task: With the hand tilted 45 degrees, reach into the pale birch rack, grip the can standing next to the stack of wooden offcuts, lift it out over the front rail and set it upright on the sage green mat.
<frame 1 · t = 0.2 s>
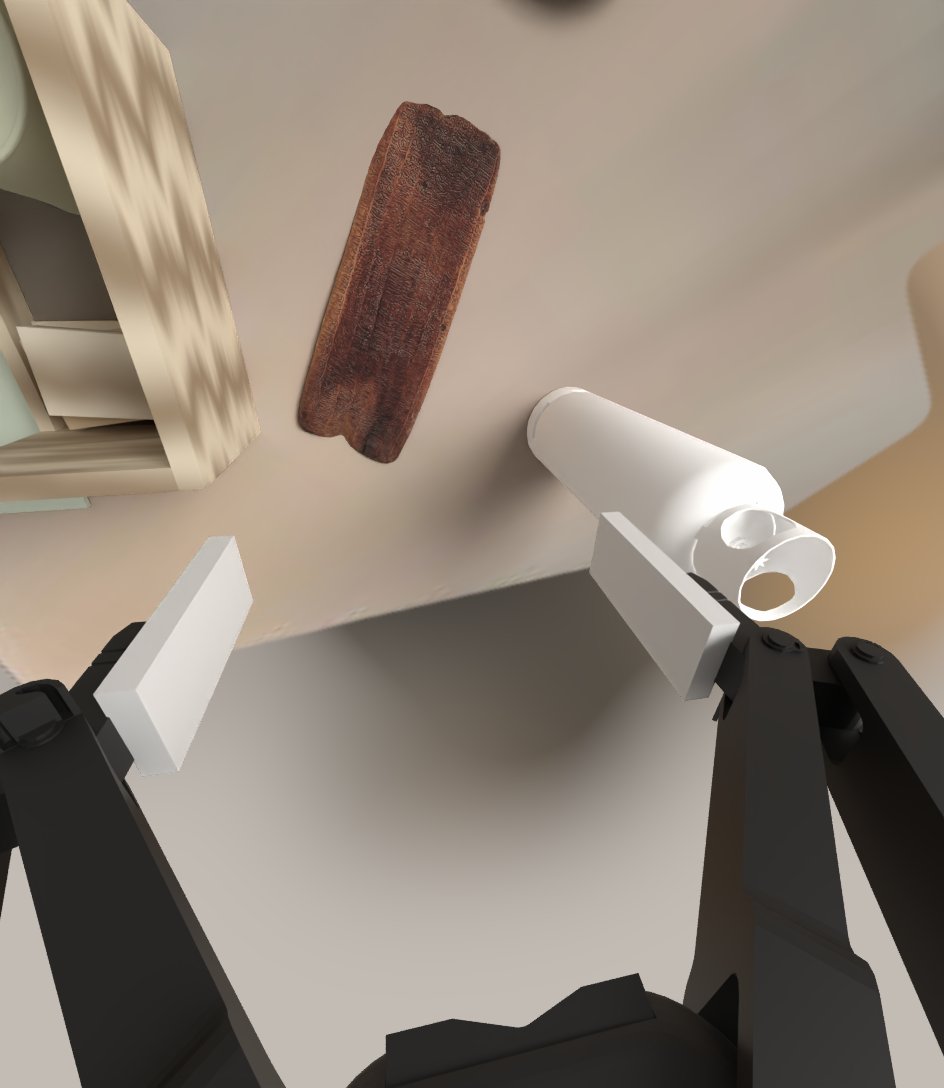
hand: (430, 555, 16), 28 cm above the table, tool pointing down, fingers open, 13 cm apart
can: (66, 130, 28), on the table
offcut stack: (140, 368, 35), resting in rack
wooden tablet: (396, 305, 37), on the table
bottle: (564, 427, 44), on the table
rack: (114, 274, 32), on the table
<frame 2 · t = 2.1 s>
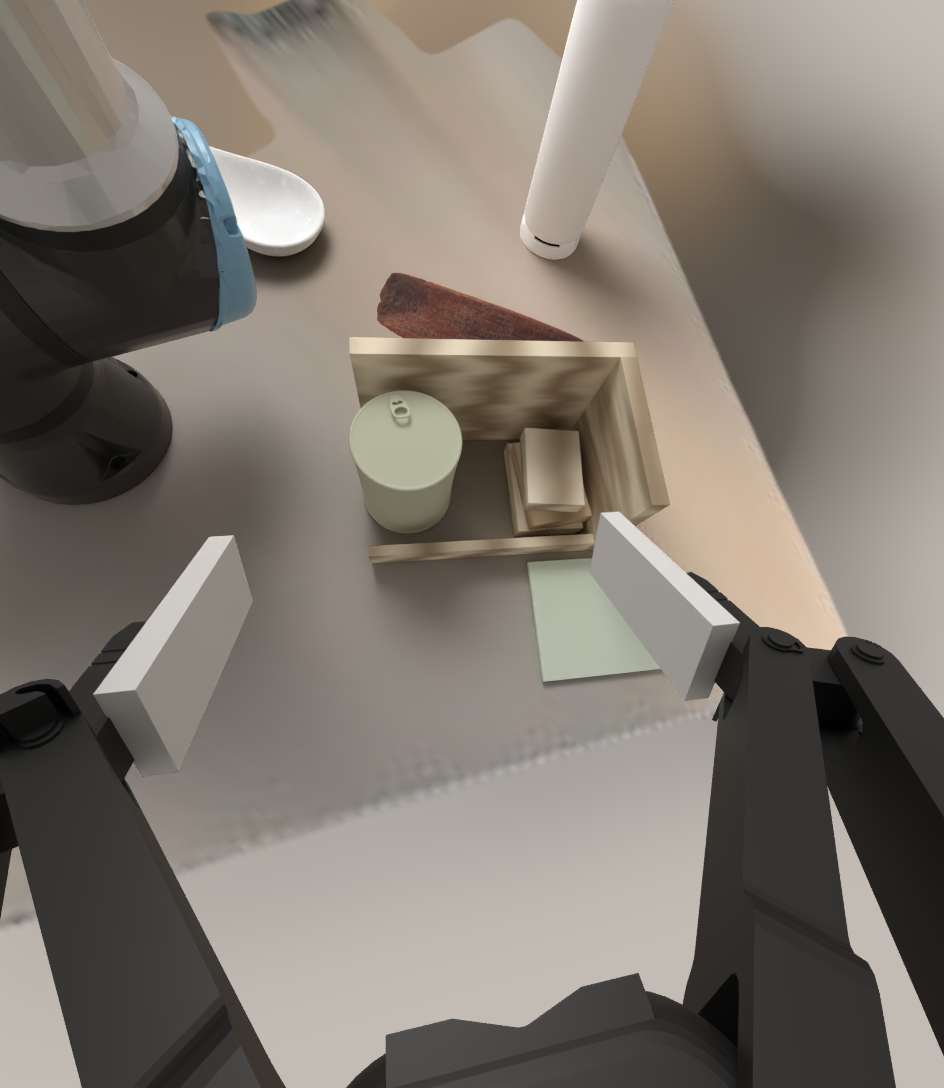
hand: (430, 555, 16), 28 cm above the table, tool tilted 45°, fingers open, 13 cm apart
can: (407, 493, 46), on the table
offcut stack: (539, 491, 48), resting in rack
wooden tablet: (480, 338, 53), on the table
spoon rest: (230, 225, 52), on the table
bottle: (548, 237, 58), on the table
mat: (598, 614, 45), on the table
rack: (481, 489, 47), on the table
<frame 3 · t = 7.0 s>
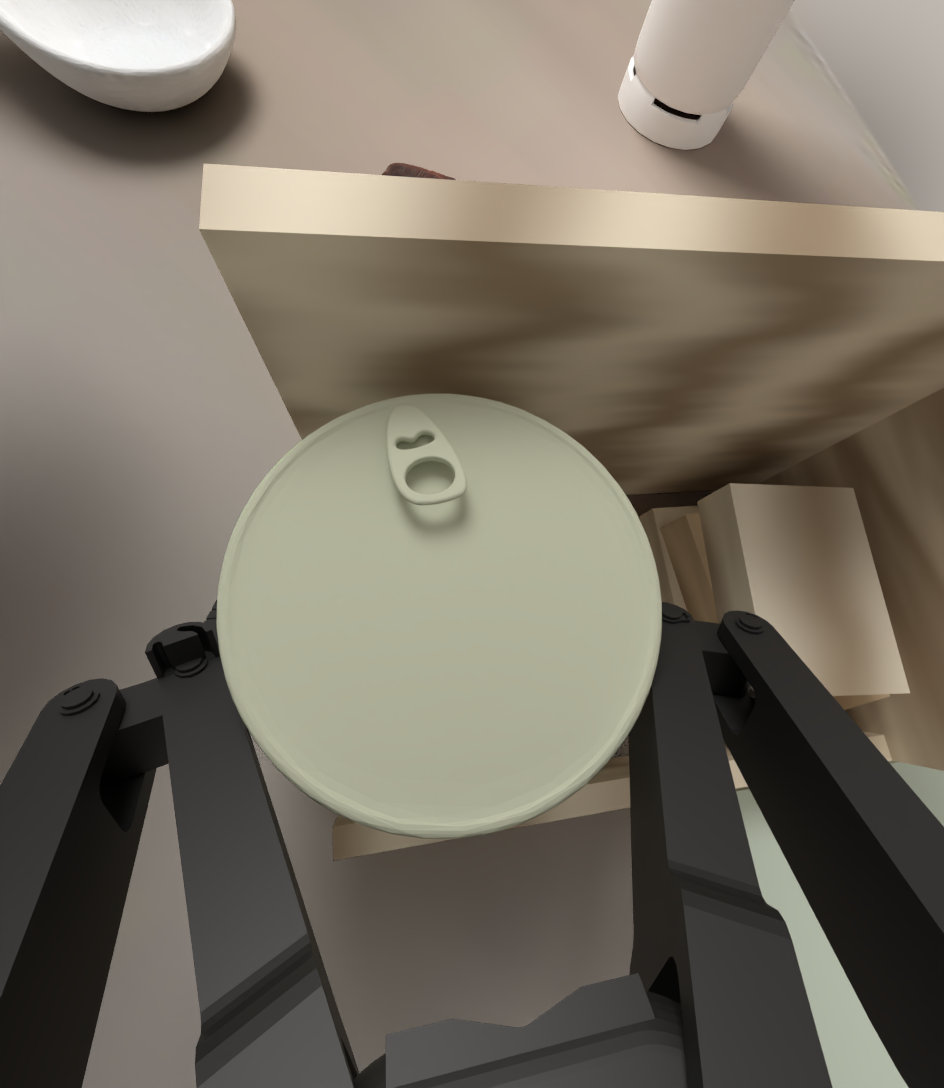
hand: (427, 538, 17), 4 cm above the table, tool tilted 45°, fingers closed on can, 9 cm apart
can: (430, 629, 20), on the table, touching gripper
offcut stack: (715, 610, 22), resting in rack
wooden tablet: (562, 293, 27), on the table
spoon rest: (57, 54, 26), on the table
bottle: (667, 113, 32), on the table
mat: (885, 915, 19), on the table
rack: (594, 612, 21), on the table
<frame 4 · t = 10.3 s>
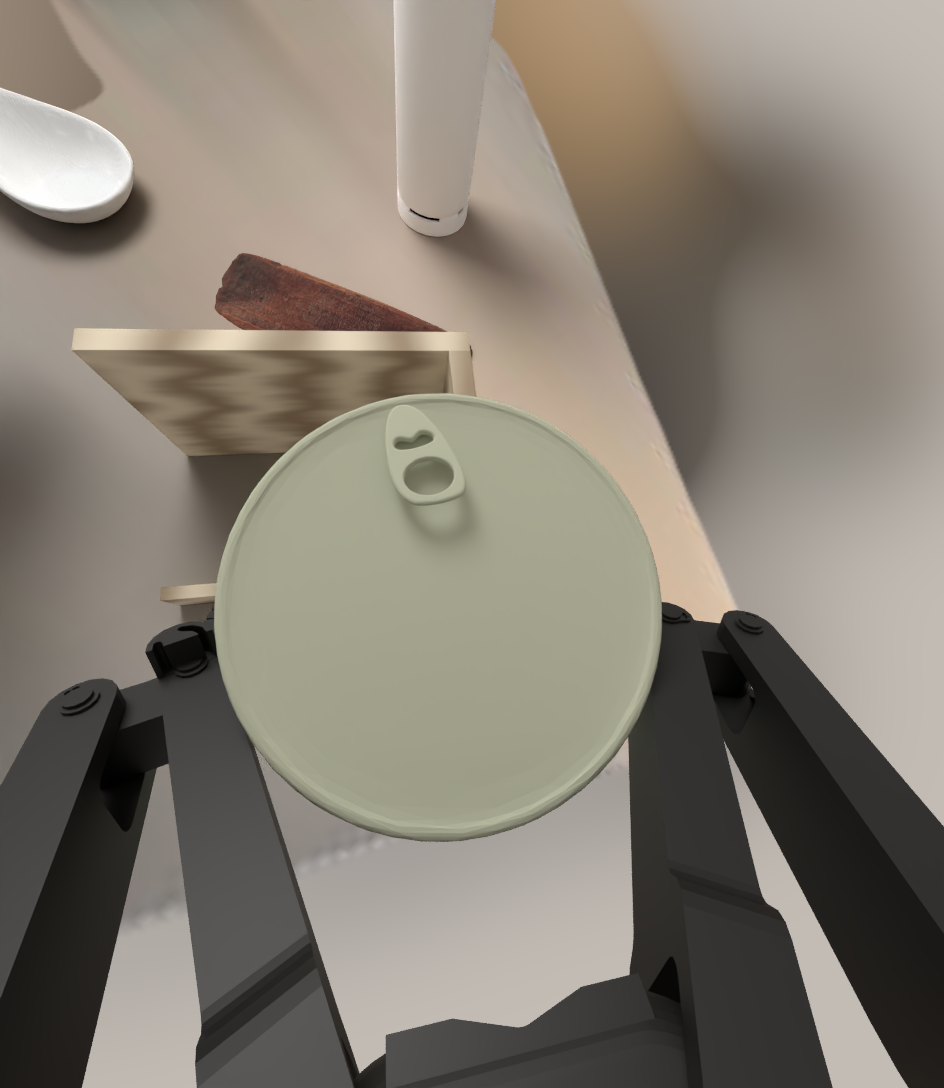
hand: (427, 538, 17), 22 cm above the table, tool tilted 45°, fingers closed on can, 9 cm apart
can: (429, 629, 20), point 19 cm above the table, touching gripper
wooden tablet: (343, 334, 45), on the table
spoon rest: (30, 181, 44), on the table
bottle: (432, 211, 50), on the table
rack: (327, 510, 39), on the table
when the fingers open (6 cm above the table, at t = 14.1 s): can drops 1 cm, resting on mat.
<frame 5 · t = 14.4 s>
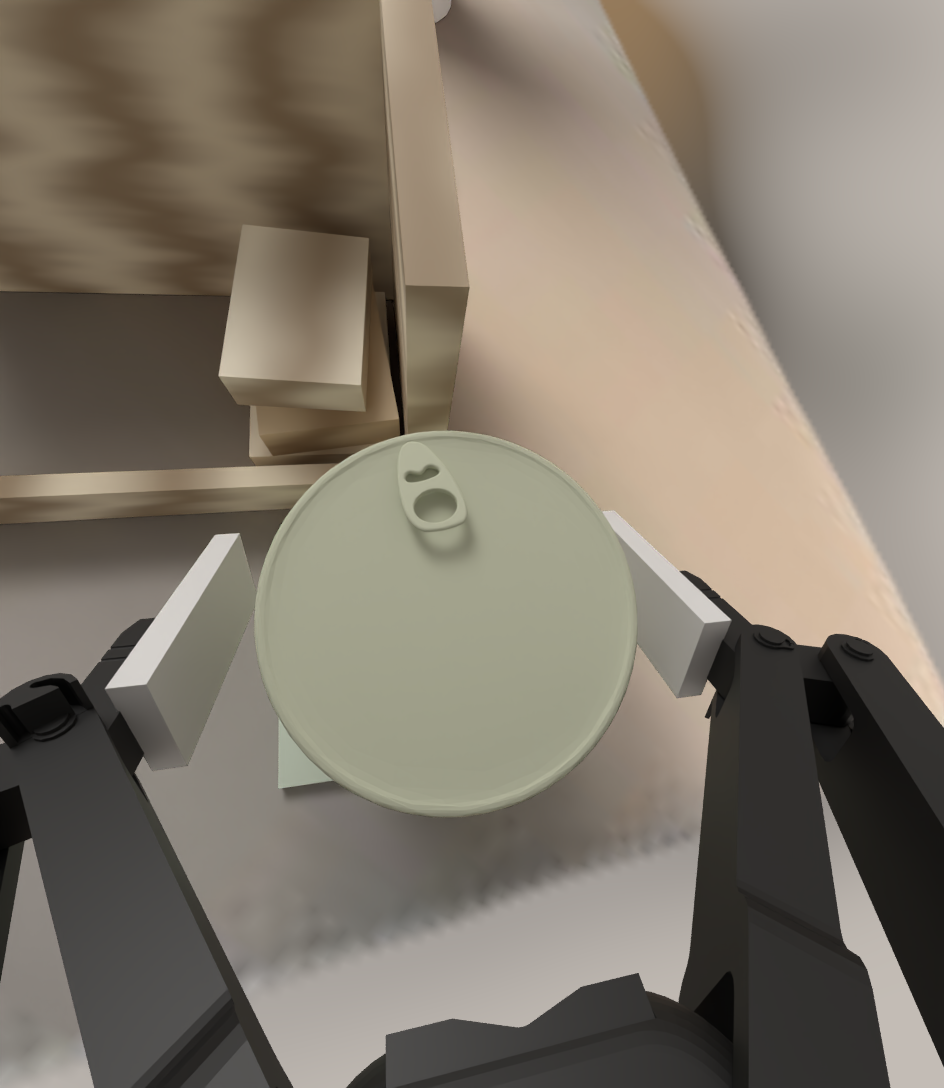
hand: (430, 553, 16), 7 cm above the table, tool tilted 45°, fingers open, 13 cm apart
can: (433, 633, 21), resting on mat
offcut stack: (329, 391, 24), resting in rack
mat: (428, 632, 22), on the table
rack: (206, 384, 24), on the table
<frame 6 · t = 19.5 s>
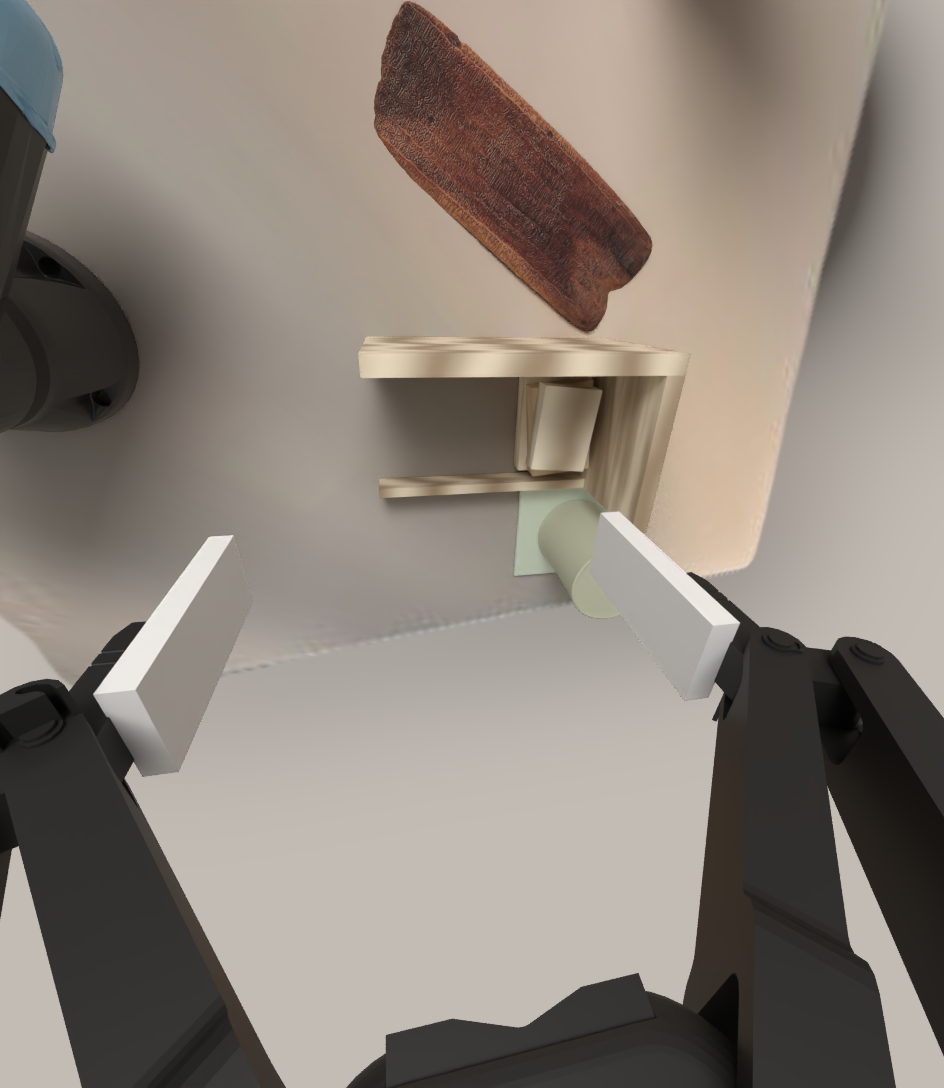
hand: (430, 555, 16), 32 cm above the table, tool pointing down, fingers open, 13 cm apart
can: (572, 531, 54), resting on mat
offcut stack: (547, 419, 47), resting in rack
wooden tablet: (516, 191, 37), on the table
mat: (569, 529, 54), on the table
rack: (489, 415, 46), on the table
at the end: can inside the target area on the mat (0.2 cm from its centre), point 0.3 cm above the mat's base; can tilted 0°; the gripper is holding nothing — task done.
